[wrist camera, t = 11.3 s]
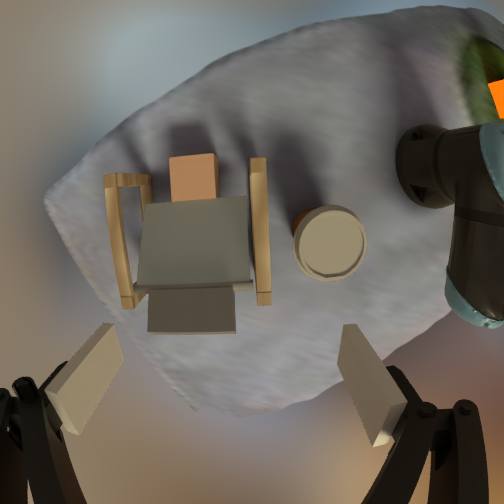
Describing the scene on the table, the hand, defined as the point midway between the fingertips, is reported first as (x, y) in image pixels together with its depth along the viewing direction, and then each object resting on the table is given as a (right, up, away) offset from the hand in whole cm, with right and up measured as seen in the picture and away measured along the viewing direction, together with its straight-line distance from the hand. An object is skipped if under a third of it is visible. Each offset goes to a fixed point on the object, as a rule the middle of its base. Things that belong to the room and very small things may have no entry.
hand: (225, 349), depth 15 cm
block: (-6, +13, +24) cm, 28 cm away
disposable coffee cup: (+11, +9, +29) cm, 32 cm away
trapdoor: (-6, +4, +20) cm, 21 cm away
